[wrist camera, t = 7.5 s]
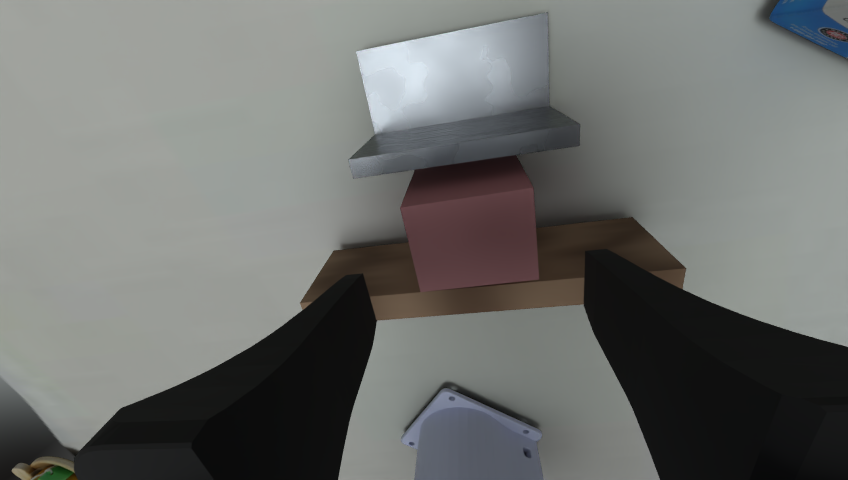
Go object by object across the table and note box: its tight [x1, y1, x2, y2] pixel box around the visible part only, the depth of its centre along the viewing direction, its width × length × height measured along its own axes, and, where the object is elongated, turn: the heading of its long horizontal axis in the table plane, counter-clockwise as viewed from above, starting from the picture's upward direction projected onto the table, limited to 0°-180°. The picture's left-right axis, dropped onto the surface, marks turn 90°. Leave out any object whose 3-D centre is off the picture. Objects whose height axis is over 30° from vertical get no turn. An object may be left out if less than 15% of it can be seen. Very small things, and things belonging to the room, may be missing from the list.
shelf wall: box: [300, 217, 686, 320], centre depth 20 cm, size 18×2×6 cm, turn 100°
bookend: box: [348, 12, 580, 179], centre depth 16 cm, size 9×5×6 cm, turn 100°
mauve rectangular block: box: [400, 155, 539, 292], centre depth 17 cm, size 5×4×7 cm
